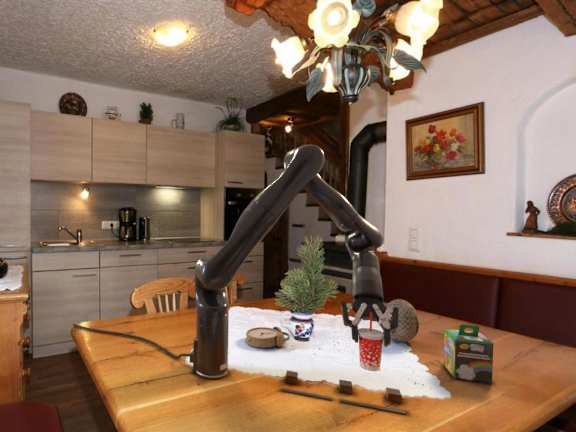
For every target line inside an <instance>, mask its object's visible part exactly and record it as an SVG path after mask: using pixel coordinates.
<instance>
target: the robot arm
mask: <svg viewBox="0 0 576 432" xmlns="http://www.w3.org/2000/svg"><path fill="white" fill-rule="evenodd" d="M324 164H325V153H324V151H323V149H322V148H321V147H320V146H318V145H316V144H303V145H300V146H298V147H296V148H292V149H291V150H289V151H288V152H286V153H285V155H284V158H283V168H284V171H283V172H282V173H281V174H280V175H279V177H277V179H275V180H274V181H273V182H272V183H270V184H269V185H268V186H267V187H265V188H264V189H263V190H262V191H260V192H259V193H258V194H257V195H256V196H255V197H254V198H253V199H252V200H251V202H250V203H249V204H248V205H247V206H246V208H245V209H244V210H243V211H242V213H241V214H240V216H239V218H238V220H237V222H236V224H235V226H234V228H233V230H232V233H231V235H230V237H229V239H228V240H227V241H226V242H225V244H224V245H223V246H222V247H221V248H220V249H219V251H218V252H217V253H215V254H207V255H203V256H201V258H200V259H199V260H198V261H197V262H196V265H195V268H194V300H195V306H196V313H195V315H196V316H195V322H196V323H195V338H194V339H193V349H192V351H191V352H190V353H180V354H178V355H176V354H173V353H172V352H171V351H170V350H168V349H167V348H165V347H163V346H162V345H160V344H158V343H157V342H155V341H152V340H150V339H148V338H145V337H142V336H139V335H136V334H135V335H134V334H130V333H124V332H117V331H111V330H104V329H97V328H91V327H86V326H82V325H79V324H76V323H72V326H73V327H76V328H78V329H82V330H87V331H90V332H91V331H92V332H98V333H105V334H112V335H113V334H114V335H118V336H125V337H130V338H134V339H138V340H142V341H145V342H147V343H149V344H152V345H154V346H155V347H157V348H159V349H160V350H162V351H164V352H165V353H166V354H168V355H169V356H170V357H172V358H174V359H180V358H182V357H189V363H190V364H191V363H192V373H193V374H196V375H198V377H201V378H205V379H210V380H214V379H215V380H217V379H221V378H224V377H226V376H227V375H228V373H229V319H230V303H229V301H228V298H227V292H226V289H227V287H228V286H229V285H231V283H232V282H233V280H234V279H235V277H236V275H237V274H238V272H239V271H240V269H241V268H242V266H243V265H244V263H245V262H246V260H247V258H248V257H249V256H250V255H251V254H252V253H253V251H254V250H255V249H256V248H257V246H258V245H259V244H260V243H261V241H262V240H263V239H264V238H265V236H267V234H268V233H269V232H270V231H271V230H272V229H273V227H274V226H275V224H276V223H277V222H278V221H279V220H280V218H281V216H282V215H284V213H285V212H286V210H287V209H288V208H289V206H290V205H291V204H292V203H293V201H294V200H295V198H296V197H298V194H299V193H300V192H301V191H302V190H303V189H304V190H305V191H306V192H307V193H308V194H309V195H310V196H311V197H312V198H313V200H315V201H316V202H317V204H318V205H319V206H320V207H321V208H322V209H323V211H324V212H325V213H326V214H327V215H328V216H329V218H330V219H331V220H332V221H333V223H334V224H335V225H336V227H337V228H338V229H339V230H340V231H341V232H351V231H352V232H351V233H348V235H346V237H345V239H344V244H345V247H346V249H347V251H348V254H349V256H350V259H351V265H352V276H351V287H352V302H350V303H349V302H348V303H347V302H346V301H341V303H340V310H341V316H342V322H343V325H344V327H349V328H350V330H351V339H352V341H354V343H355V344H357V343H358V344H359V335H358V329H359V324H360V323H361V321H370V312H372V322H376V323H377V325H378V326H379V327H380V328H381V330H382V332H383V333H384V338H383V347H385V348H388V347H389V346H390V345H391V342H392V338H391V335H390V332H396V331H397V328H398V312H399V309H398V308H397V307H394V308H389V307H386V305H387V304H386V303H385V299H384V290H383V289H384V288H383V282H382V276H381V272H380V271H381V270H380V263H379V262H380V261H379V257H378V256H377V255H376V253H374V252H371V251H373V250H377V249H379V248H381V247H382V245H383V243H384V236H383V234H382V233H381V231H380V230H379V228H377V227H376V226H375V225H373V224H372V223H371V222H369V221H368V220H366V219H365V218H364V217H362V215H360V214H359V213H358V212H357V210H356V209H355V208H354V206H353V205H352V204H351V203H350V201H349V200H348V199H347V198H346V197H345V195H344V196H343V195H342V193H340V192H339V191H338V190H336V189H335V188H334V187H332V186H331V185H329V184H328V183H327V182H326V181H325V180H324V179H323V178H322V176H320V174H319V173H320V171H322V168H323V166H324ZM351 309H352V311H353V312H354V314H355V316H354V317H353V319H352V320H351V319H350V315H349V312H350V311H351ZM385 312H388V314H389V316H390V317H392V320H391V325H389V324H388V323H387V321H386V319H385V317H384V313H385Z"/></svg>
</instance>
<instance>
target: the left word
mask: <svg viewBox="0 0 576 432" xmlns="http://www.w3.org/2000/svg"><path fill="white" fill-rule="evenodd" d="M298 381H299V372H298V371H294V370H293V371H292V370H286V372H285V383H288V384H293V385H298V383H299V382H298ZM281 392H284V393H289V394H295V395H301V396H305V397H311V398H316V399H321V400H326V401H333V397H331V396H327V395H319V394H316V393H311V392H305V391H299V390H295V389H289V388H281Z"/></svg>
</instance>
